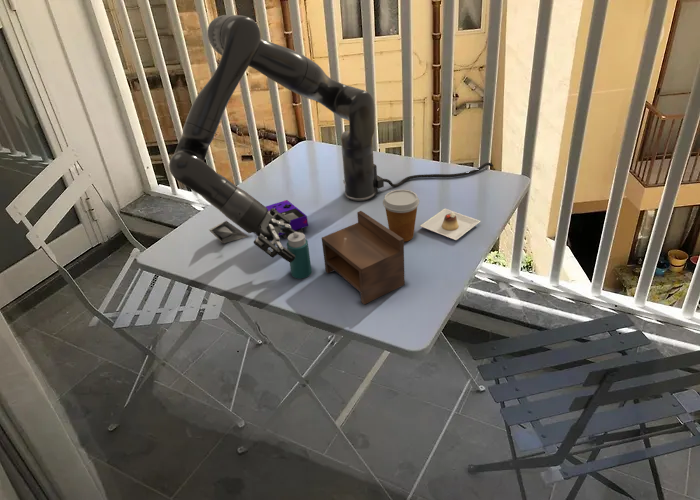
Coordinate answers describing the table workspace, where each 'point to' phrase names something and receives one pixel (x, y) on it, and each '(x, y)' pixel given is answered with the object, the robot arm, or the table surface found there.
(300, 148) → the table surface
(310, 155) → the table surface
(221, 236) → the paper boat
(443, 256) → the table surface
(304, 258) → the pepper mill
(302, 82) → the robot arm
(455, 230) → the dessert
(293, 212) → the handheld gaming console
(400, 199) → the disposable coffee cup
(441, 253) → the table surface
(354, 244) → the shelf
